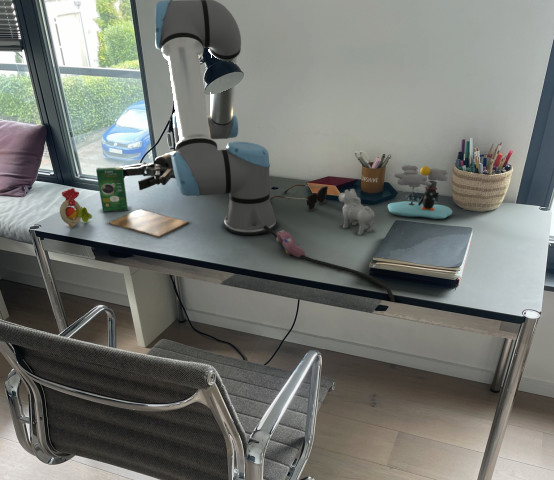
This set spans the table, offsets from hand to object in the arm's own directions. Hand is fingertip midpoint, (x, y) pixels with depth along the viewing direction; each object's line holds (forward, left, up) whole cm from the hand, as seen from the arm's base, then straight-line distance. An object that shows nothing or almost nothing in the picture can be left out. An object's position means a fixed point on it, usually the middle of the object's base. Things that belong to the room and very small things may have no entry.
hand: (123, 182), depth 179 cm
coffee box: (0, +5, -8) cm, 9 cm away
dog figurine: (-71, -22, -8) cm, 75 cm away
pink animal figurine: (-64, +3, -8) cm, 65 cm away
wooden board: (-17, +8, -7) cm, 20 cm away
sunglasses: (-45, -32, -8) cm, 56 cm away
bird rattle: (+1, +20, -8) cm, 22 cm away
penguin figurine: (-83, -43, -8) cm, 94 cm away
